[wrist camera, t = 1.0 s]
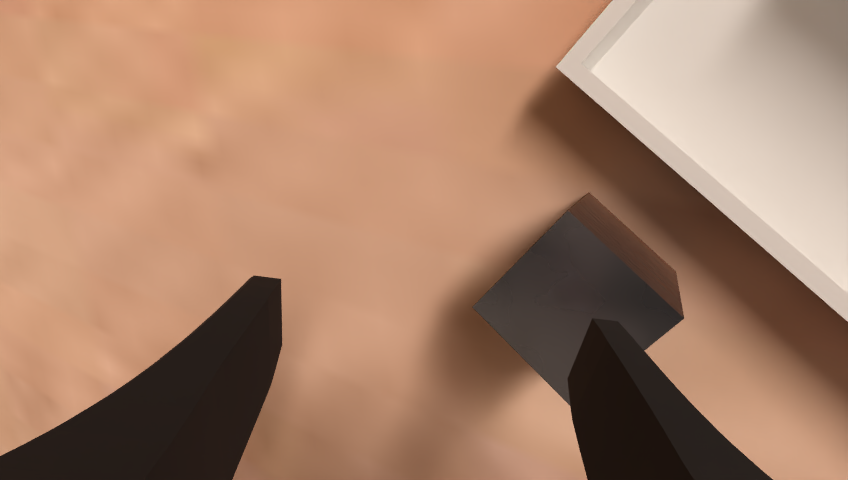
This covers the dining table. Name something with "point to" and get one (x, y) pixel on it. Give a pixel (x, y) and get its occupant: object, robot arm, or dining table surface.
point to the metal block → (581, 291)
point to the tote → (739, 114)
